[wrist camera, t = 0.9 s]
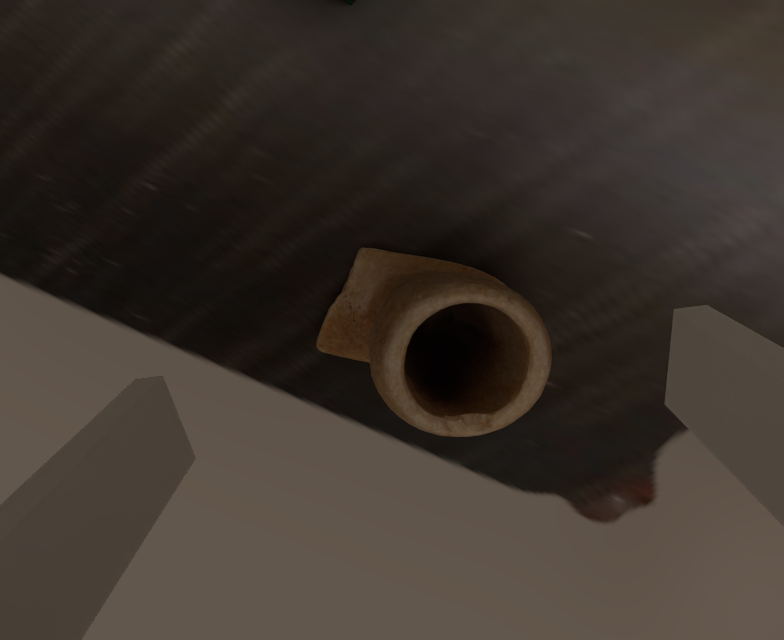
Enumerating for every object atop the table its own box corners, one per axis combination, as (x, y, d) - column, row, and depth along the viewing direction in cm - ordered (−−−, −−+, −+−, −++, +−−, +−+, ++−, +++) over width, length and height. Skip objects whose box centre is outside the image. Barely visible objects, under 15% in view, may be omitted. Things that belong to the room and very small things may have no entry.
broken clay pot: (530, 252, 36) (610, 326, 22) (484, 377, 40) (526, 505, 26) (345, 206, 35) (306, 253, 21) (319, 340, 39) (272, 452, 25)
